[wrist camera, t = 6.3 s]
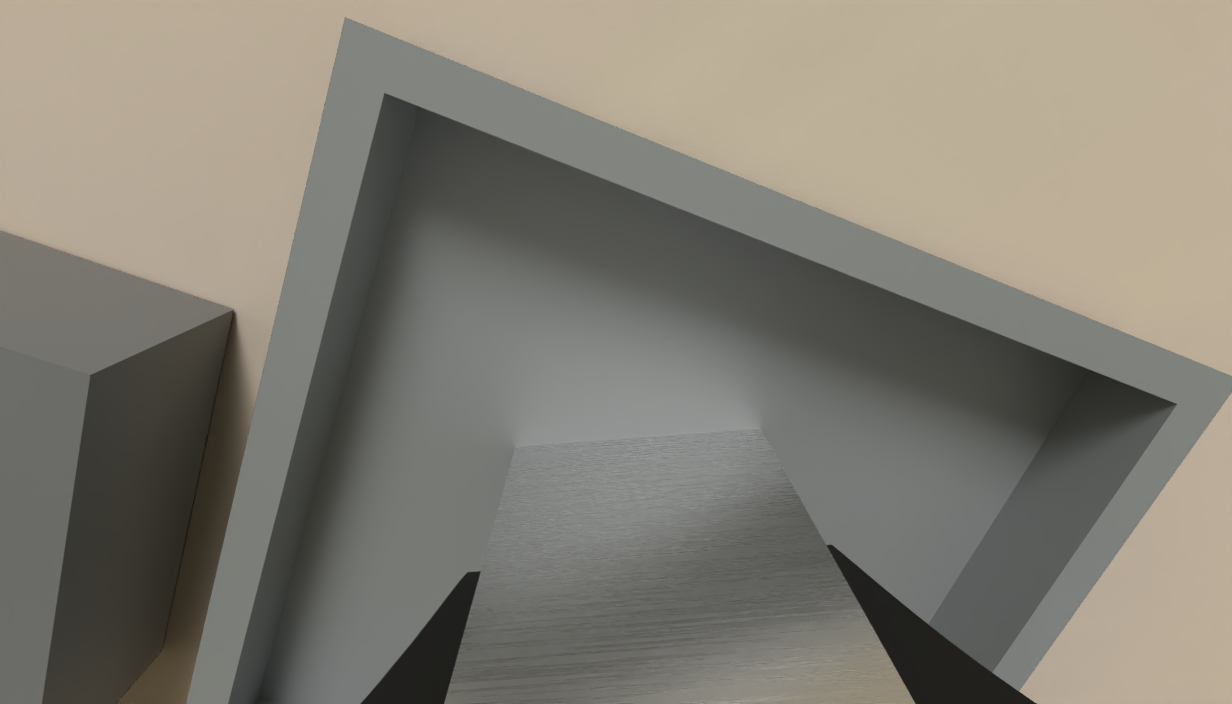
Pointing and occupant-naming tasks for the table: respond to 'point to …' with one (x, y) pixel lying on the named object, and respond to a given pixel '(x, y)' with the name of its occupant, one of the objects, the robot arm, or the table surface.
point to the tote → (647, 381)
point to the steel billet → (663, 584)
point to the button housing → (94, 467)
